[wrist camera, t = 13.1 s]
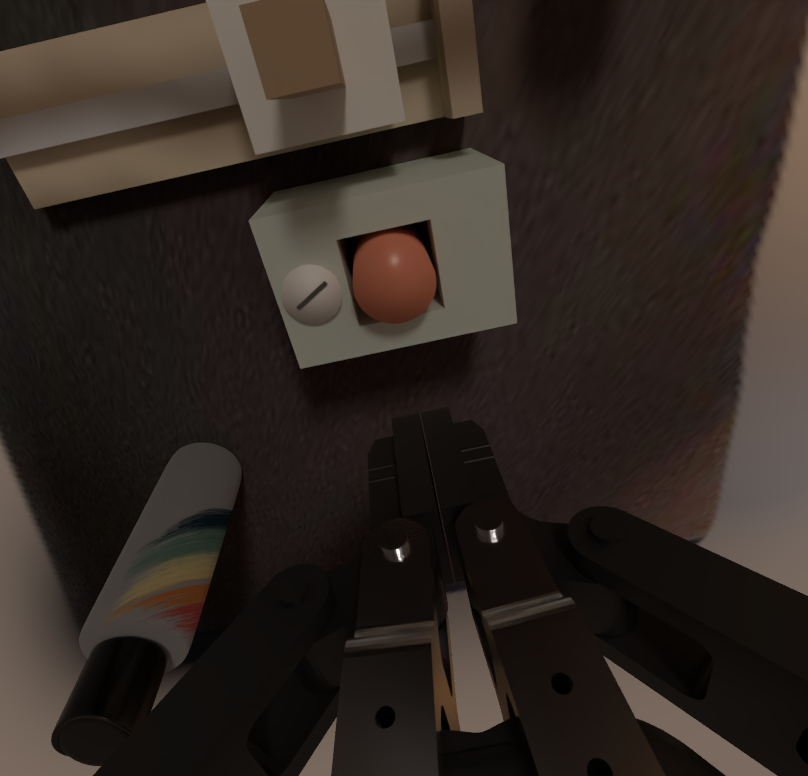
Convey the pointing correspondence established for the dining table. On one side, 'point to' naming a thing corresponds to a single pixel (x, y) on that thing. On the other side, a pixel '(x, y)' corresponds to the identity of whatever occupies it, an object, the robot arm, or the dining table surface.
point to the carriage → (309, 67)
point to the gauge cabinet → (377, 210)
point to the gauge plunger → (392, 274)
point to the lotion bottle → (149, 603)
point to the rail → (187, 98)
